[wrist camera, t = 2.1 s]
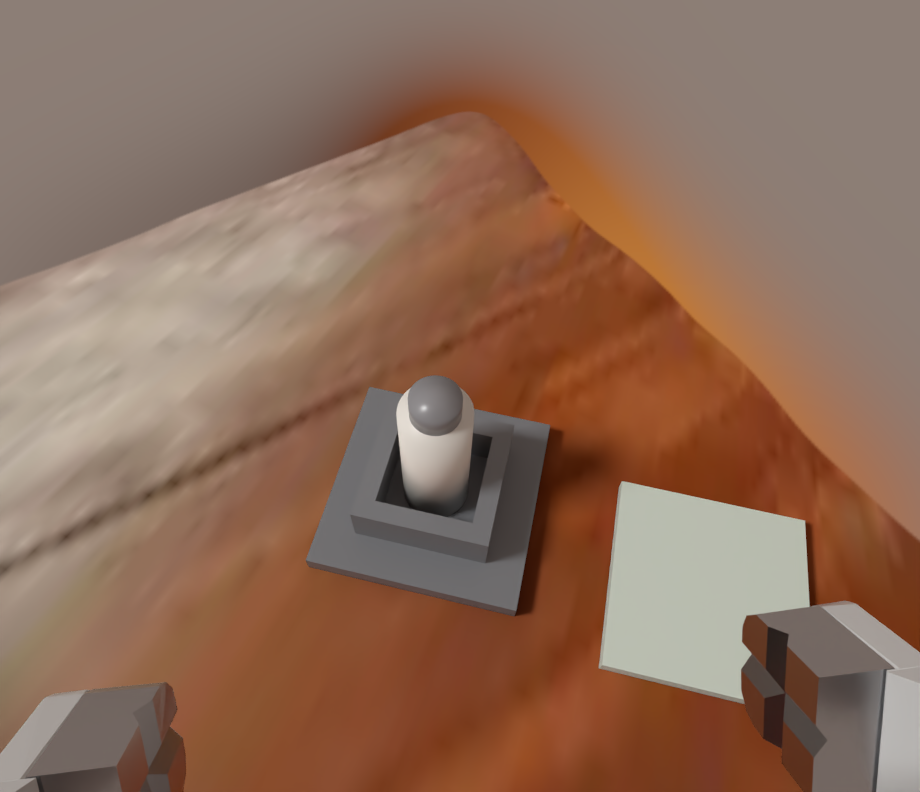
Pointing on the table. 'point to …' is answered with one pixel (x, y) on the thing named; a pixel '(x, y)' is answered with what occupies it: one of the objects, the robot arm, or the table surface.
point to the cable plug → (435, 444)
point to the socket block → (428, 535)
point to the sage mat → (695, 586)
